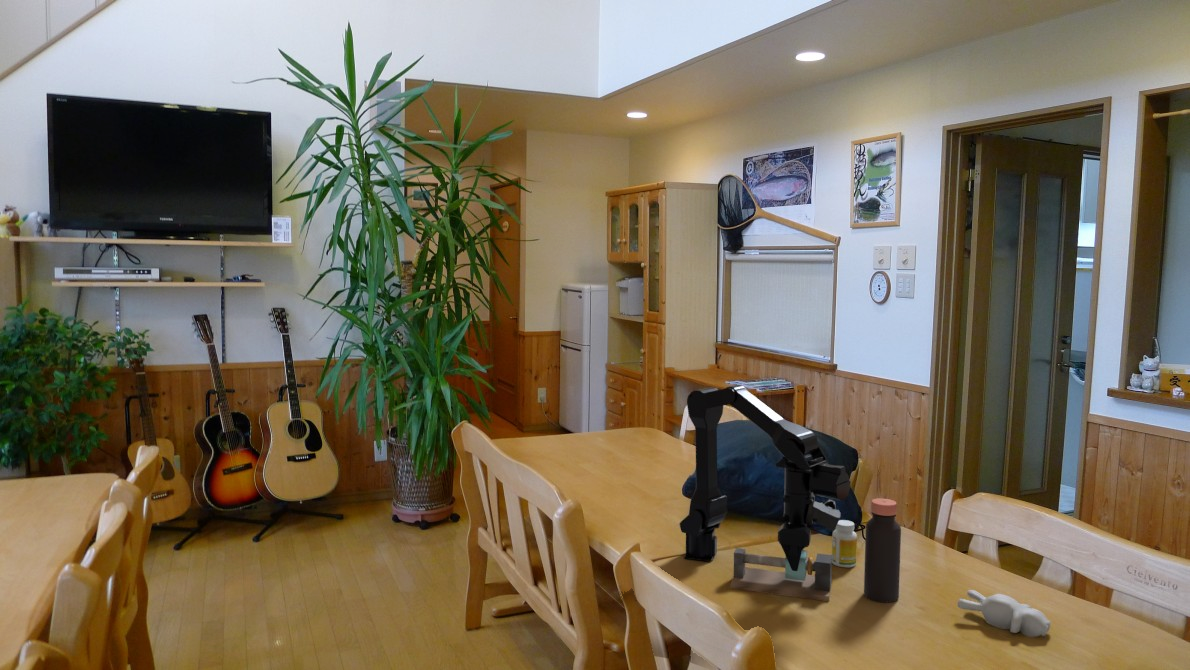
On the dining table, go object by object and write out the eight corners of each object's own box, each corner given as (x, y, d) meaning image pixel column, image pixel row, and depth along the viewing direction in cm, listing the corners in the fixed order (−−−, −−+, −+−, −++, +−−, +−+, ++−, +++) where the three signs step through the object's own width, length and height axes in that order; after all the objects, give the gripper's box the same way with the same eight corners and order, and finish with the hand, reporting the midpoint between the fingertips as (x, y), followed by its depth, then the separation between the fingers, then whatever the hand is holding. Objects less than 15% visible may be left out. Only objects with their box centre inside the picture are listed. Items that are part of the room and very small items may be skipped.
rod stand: (730, 588, 169) (731, 556, 168) (738, 570, 178) (738, 540, 178) (828, 601, 162) (829, 568, 161) (831, 582, 171) (832, 550, 171)
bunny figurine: (1043, 625, 143) (956, 593, 152) (1038, 651, 144) (952, 617, 153) (1056, 608, 150) (972, 578, 159) (1051, 633, 150) (968, 601, 160)
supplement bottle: (826, 563, 182) (827, 522, 182) (840, 557, 186) (841, 517, 185) (847, 570, 178) (848, 528, 177) (860, 564, 182) (862, 523, 181)
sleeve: (785, 578, 167) (785, 556, 167) (787, 569, 172) (788, 548, 171) (804, 580, 166) (805, 558, 166) (806, 572, 170) (807, 550, 170)
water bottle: (899, 592, 166) (903, 499, 164) (897, 605, 160) (900, 508, 158) (865, 587, 169) (868, 495, 167) (861, 599, 163) (864, 504, 161)
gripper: (836, 507, 156) (834, 584, 157) (840, 482, 173) (838, 552, 175) (778, 501, 159) (776, 577, 161) (788, 477, 177) (786, 546, 178)
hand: (796, 562), depth 169 cm, fingers open, 9 cm apart
